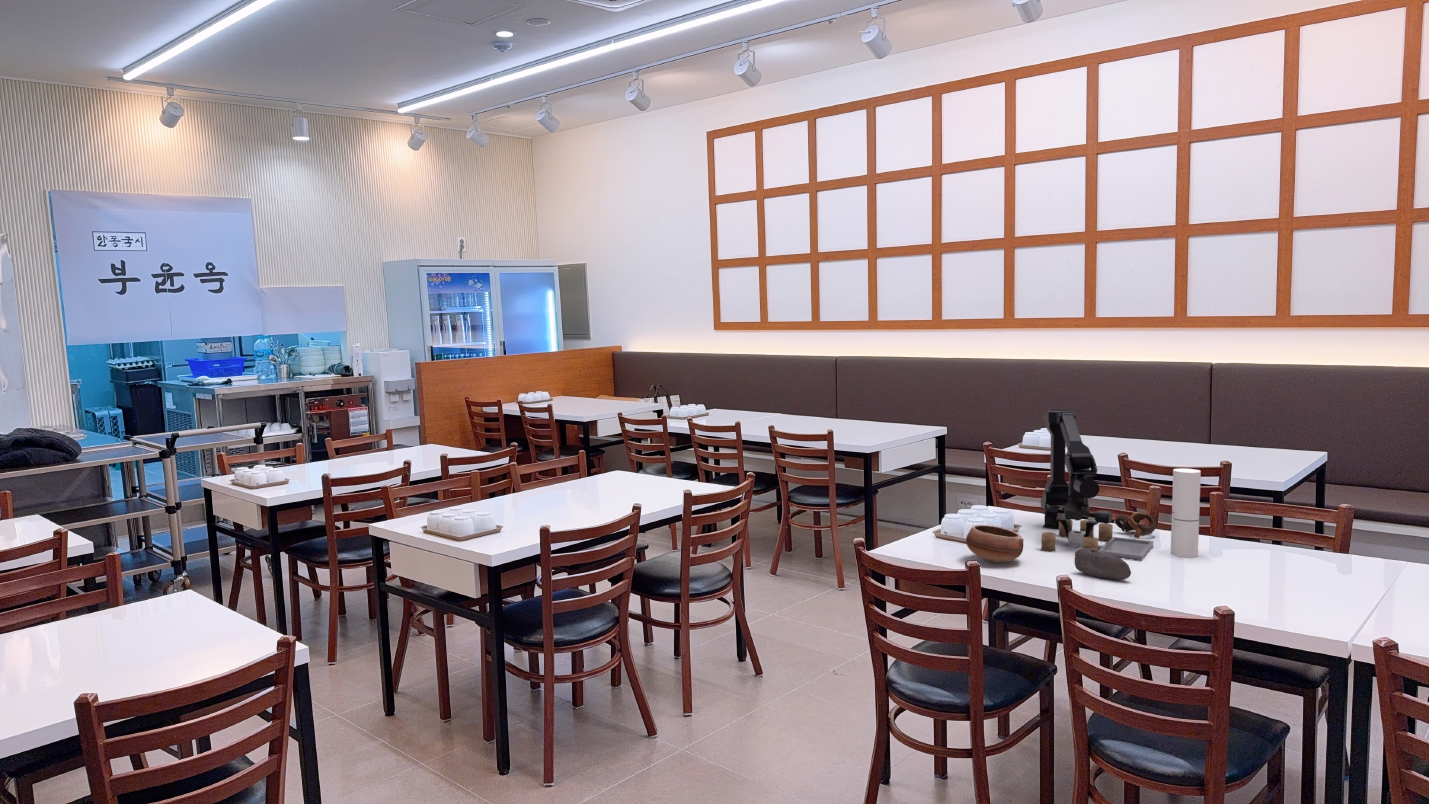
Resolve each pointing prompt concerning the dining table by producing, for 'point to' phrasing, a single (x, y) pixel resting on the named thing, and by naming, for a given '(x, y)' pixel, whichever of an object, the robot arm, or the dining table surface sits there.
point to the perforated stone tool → (1101, 564)
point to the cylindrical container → (1185, 512)
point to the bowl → (994, 543)
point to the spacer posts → (1088, 542)
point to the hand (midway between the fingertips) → (1077, 541)
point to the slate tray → (1127, 548)
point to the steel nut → (1076, 538)
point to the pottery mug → (1135, 524)
